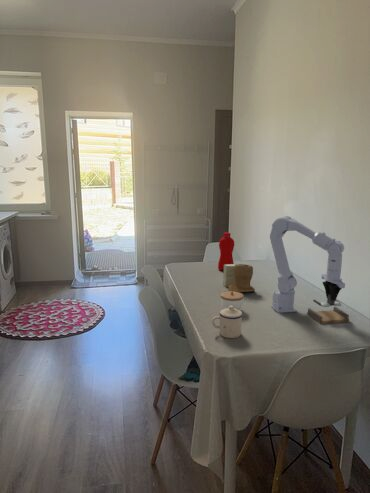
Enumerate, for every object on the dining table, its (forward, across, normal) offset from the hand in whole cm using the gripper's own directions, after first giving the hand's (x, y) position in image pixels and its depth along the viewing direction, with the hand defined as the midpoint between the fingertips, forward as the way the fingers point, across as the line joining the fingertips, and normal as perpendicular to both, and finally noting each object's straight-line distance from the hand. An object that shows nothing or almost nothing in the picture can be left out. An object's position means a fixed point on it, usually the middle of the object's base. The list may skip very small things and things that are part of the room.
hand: (331, 298), depth 164 cm
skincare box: (+10, +54, +29) cm, 62 cm away
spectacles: (+3, +2, 0) cm, 3 cm away
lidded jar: (+10, +17, +40) cm, 45 cm away
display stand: (+9, +1, 0) cm, 9 cm away
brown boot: (+10, +44, +26) cm, 52 cm away
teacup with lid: (+10, -7, +50) cm, 52 cm away
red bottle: (+10, +88, +20) cm, 91 cm away
